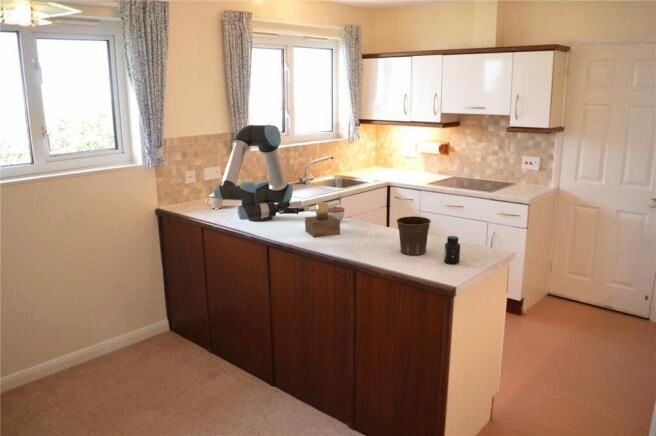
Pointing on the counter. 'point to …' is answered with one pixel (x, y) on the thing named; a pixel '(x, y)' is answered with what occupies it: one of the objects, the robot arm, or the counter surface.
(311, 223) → the block
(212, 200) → the teacup with lid
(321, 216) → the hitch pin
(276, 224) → the counter surface
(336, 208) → the lidded jar
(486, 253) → the counter surface
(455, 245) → the supplement bottle
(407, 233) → the plant pot
